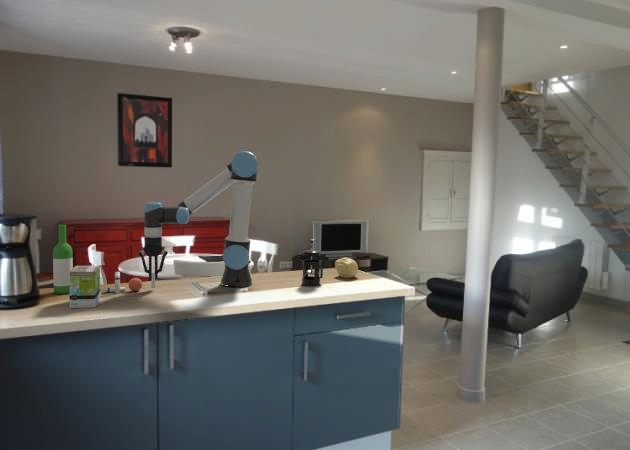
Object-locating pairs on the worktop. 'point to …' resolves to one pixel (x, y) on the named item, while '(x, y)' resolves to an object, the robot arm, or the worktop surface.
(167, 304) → the worktop surface
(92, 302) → the tea box
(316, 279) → the french press
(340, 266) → the sculpture
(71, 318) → the worktop surface
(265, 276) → the worktop surface
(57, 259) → the wine bottle
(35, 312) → the worktop surface
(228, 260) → the robot arm
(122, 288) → the front pin
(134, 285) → the ball
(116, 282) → the pin
